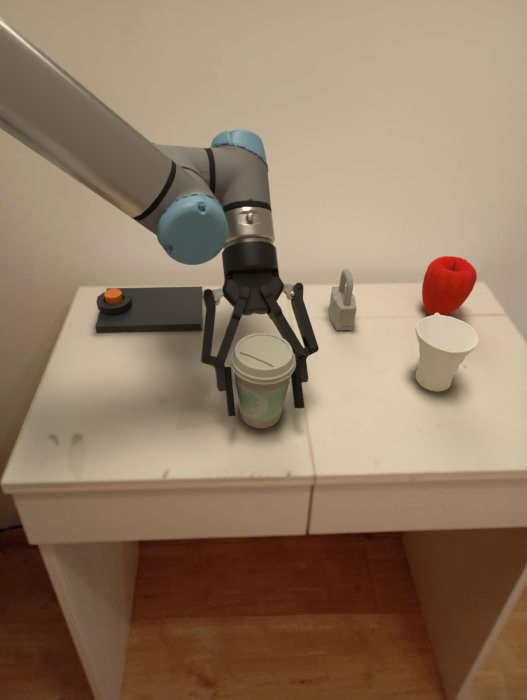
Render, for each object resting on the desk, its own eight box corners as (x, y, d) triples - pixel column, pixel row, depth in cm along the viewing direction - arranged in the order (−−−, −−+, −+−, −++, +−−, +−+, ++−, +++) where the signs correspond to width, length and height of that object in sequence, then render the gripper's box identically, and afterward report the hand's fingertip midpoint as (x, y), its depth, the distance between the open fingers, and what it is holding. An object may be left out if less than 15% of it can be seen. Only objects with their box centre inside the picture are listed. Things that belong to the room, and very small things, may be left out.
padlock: (355, 330, 84) (365, 283, 78) (333, 331, 84) (341, 283, 77) (346, 307, 90) (355, 261, 83) (325, 308, 89) (332, 261, 83)
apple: (463, 330, 85) (483, 279, 78) (414, 321, 87) (429, 270, 80) (461, 303, 92) (479, 254, 85) (415, 296, 94) (429, 246, 87)
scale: (94, 332, 81) (90, 319, 79) (105, 294, 90) (102, 281, 88) (201, 330, 83) (200, 316, 81) (202, 292, 92) (201, 279, 90)
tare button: (104, 305, 83) (102, 297, 82) (107, 295, 85) (105, 288, 84) (121, 304, 83) (120, 297, 82) (123, 295, 86) (122, 288, 85)
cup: (448, 360, 79) (467, 312, 72) (466, 401, 72) (489, 351, 65) (395, 359, 78) (409, 310, 72) (409, 400, 71) (426, 350, 65)
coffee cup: (221, 402, 69) (220, 339, 62) (272, 385, 73) (277, 323, 65) (246, 444, 64) (248, 381, 56) (300, 424, 67) (309, 361, 59)
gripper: (169, 243, 59) (186, 423, 58) (330, 234, 63) (351, 403, 61) (170, 259, 67) (186, 419, 65) (315, 250, 70) (333, 402, 69)
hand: (266, 411), depth 63 cm, fingers closed on coffee cup, 8 cm apart
